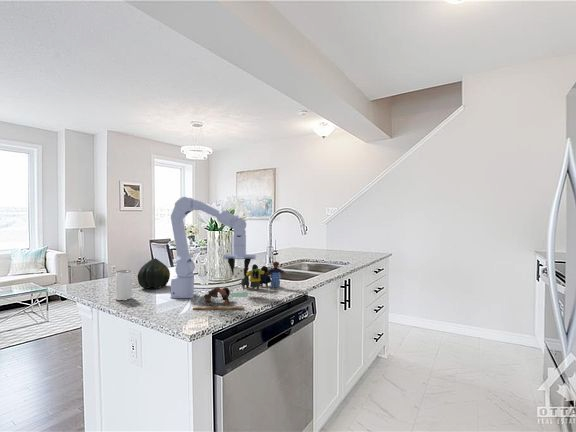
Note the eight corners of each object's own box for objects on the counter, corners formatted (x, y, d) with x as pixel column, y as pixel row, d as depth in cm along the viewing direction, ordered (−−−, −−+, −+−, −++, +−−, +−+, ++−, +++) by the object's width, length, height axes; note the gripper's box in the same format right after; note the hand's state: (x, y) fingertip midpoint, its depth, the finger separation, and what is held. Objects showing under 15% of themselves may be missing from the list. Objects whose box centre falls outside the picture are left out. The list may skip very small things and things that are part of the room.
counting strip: (192, 309, 125) (192, 307, 125) (194, 308, 127) (194, 306, 127) (242, 309, 125) (242, 307, 125) (243, 308, 127) (243, 306, 127)
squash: (148, 281, 150) (164, 254, 160) (126, 280, 157) (142, 254, 166) (166, 296, 160) (180, 270, 169) (145, 294, 166) (159, 269, 175)
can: (135, 298, 142) (135, 270, 142) (122, 301, 136) (122, 273, 136) (125, 296, 145) (125, 269, 145) (111, 300, 139) (111, 271, 139)
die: (233, 278, 144) (233, 268, 144) (235, 276, 149) (235, 266, 149) (243, 278, 144) (243, 268, 144) (245, 276, 149) (245, 266, 149)
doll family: (278, 284, 170) (278, 259, 170) (286, 288, 162) (286, 261, 162) (236, 289, 159) (236, 262, 159) (242, 293, 151) (242, 264, 151)
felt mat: (230, 297, 143) (230, 296, 143) (233, 293, 150) (233, 292, 150) (246, 297, 143) (246, 296, 143) (248, 293, 150) (248, 292, 150)
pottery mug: (223, 310, 126) (212, 292, 126) (207, 317, 130) (196, 300, 130) (239, 295, 137) (229, 278, 136) (224, 302, 141) (214, 286, 141)
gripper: (221, 246, 143) (221, 277, 143) (254, 246, 143) (254, 277, 143) (224, 244, 150) (224, 274, 150) (256, 244, 150) (256, 274, 150)
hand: (239, 275), depth 147 cm, fingers closed on die, 5 cm apart
